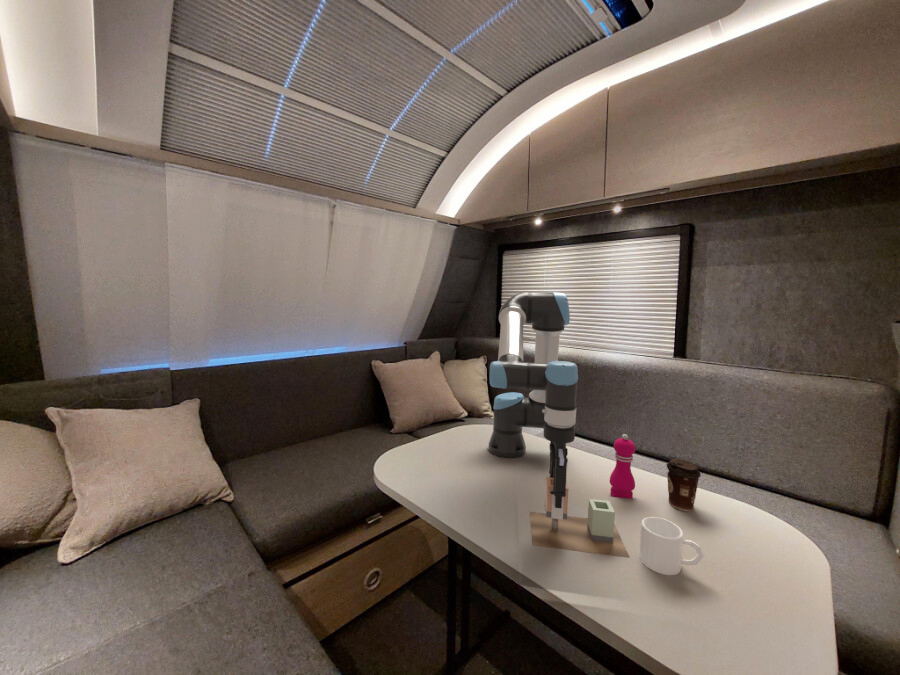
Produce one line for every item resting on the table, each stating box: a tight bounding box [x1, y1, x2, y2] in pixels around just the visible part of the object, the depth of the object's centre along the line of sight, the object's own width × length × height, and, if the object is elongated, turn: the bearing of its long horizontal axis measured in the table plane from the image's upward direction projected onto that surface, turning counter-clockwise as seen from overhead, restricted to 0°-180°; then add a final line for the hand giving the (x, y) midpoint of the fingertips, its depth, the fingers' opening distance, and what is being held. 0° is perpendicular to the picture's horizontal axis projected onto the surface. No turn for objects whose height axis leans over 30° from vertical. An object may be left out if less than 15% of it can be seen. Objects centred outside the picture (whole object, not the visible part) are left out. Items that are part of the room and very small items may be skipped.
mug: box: [638, 516, 705, 576], centre depth 79 cm, size 8×12×10 cm
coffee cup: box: [665, 458, 701, 512], centre depth 106 cm, size 9×8×13 cm
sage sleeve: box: [587, 498, 616, 543], centre depth 89 cm, size 5×5×8 cm
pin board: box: [529, 511, 631, 559], centre depth 90 cm, size 14×22×8 cm, turn 80°
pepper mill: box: [609, 433, 636, 500], centre depth 110 cm, size 7×7×20 cm
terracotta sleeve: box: [544, 476, 569, 519], centre depth 90 cm, size 5×5×8 cm
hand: (555, 511), depth 91 cm, fingers closed on terracotta sleeve, 5 cm apart
